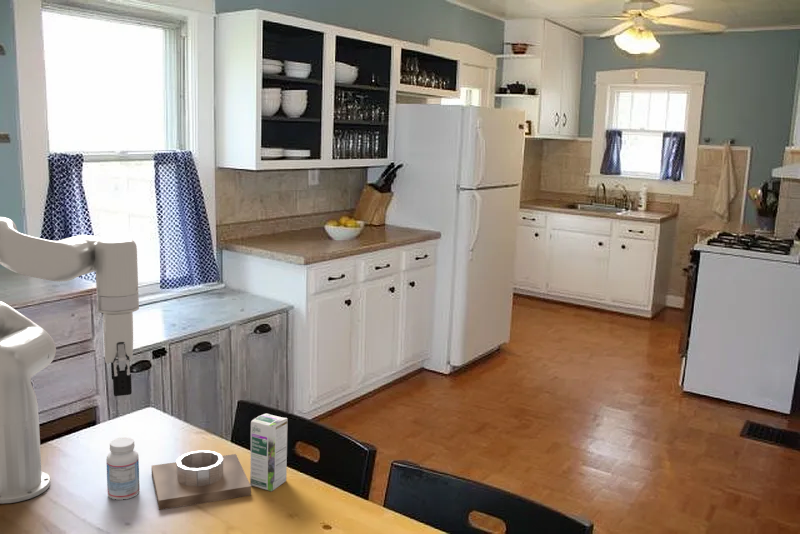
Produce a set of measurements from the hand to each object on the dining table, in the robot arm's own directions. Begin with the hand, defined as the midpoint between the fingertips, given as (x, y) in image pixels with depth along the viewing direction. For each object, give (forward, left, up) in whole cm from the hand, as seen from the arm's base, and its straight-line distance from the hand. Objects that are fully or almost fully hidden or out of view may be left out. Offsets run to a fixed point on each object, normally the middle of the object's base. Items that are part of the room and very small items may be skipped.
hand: (121, 386), depth 143 cm
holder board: (+15, -1, -23) cm, 27 cm away
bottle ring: (+15, -1, -21) cm, 26 cm away
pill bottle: (0, 0, -23) cm, 23 cm away
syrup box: (+28, -5, -23) cm, 37 cm away
